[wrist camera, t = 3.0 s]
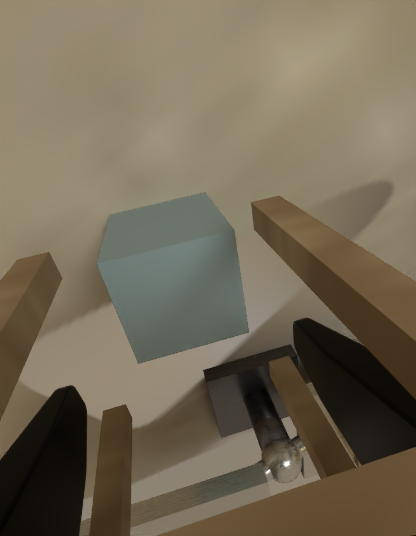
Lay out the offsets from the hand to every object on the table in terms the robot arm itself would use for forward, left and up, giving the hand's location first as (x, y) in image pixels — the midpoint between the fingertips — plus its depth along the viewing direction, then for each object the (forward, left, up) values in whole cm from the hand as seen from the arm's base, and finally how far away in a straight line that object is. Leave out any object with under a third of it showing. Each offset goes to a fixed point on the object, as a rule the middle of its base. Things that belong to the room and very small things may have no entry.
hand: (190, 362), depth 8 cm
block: (0, 0, -8) cm, 8 cm away
